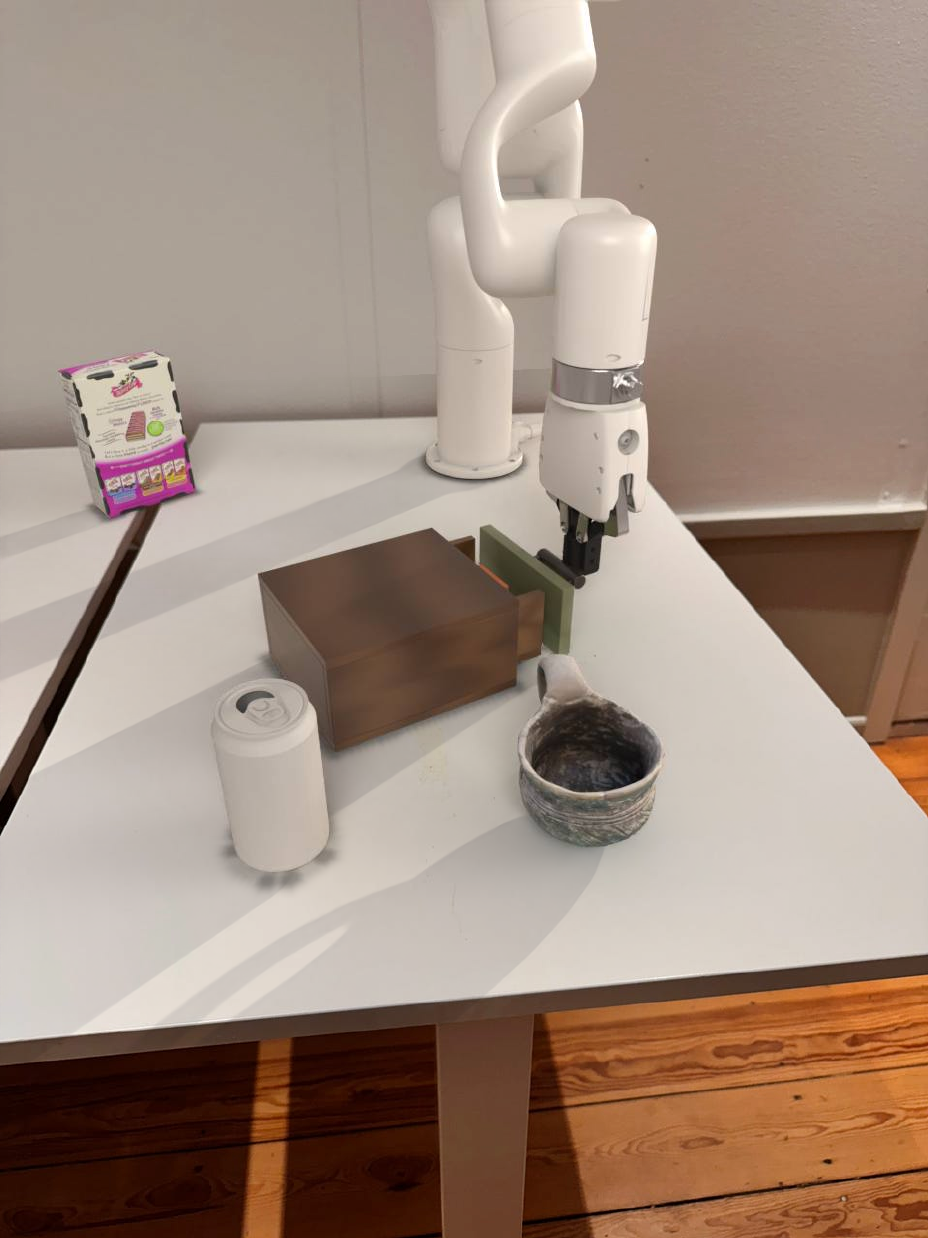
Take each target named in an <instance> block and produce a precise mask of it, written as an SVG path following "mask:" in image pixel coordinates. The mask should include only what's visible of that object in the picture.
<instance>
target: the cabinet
mask: <svg viewBox="0 0 928 1238" xmlns="http://www.w3.org/2000/svg"><path fill="white" fill-rule="evenodd" d="M449 541H450V540H447V539H446V538H445V537H444V536H443V535H441V533H439V532H438V531H437V530H436V529H434V528H433V527H428V528H425V529H421V530H417V531H413V532H409V533H406V534H402V535H398V536H394V537H391V538H387V539H383V540H379V541H376V542H372V543H367V544H365V545H360V546H356V547H353V548H349V549H346V550H341V551H338V552H337V551H336V552H334V553H330V554H326V555H323V556H318V557H314V558H312V559H307V560H304V561H300V562H296V563H293V564H292V563H291V564H288V565H285V566H284V565H283V566H281V567H277V568H273V569H269V570H265V571H261V572H258V573H257V579H258V584H259V586H258V587H259V592H260V597H261V605H262V606H261V607H262V611H263V619H264V625H265V633H266V639H267V643H268V644H267V646H268V652H269V657H270V659H271V661H272V662H273V664H274V665H275V666H276V668H277V669H278V671H279V672H280V674H281V676H282V677H283V678H284V680H287V681H290V682H292V683H295V684H297V685H298V686H300V687H301V688H302V689H303V690H304V691H305V692H306V694H307V696H308V701H309V702H310V703H311V704H312V706H313V707H314V709H315V711H316V716H317V725H318V730H320V732H321V733H322V734H323V736H324V737H325V739H326V740H327V742H328V743H329V745H330V746H331V748H332V750H333V751H334V752H335V753H337V752H339V751H342V750H346V749H348V748H351V747H353V746H356V745H358V744H359V745H360V744H362V743H364V742H367V741H369V740H373V739H375V738H377V737H381V736H383V735H387V734H389V733H392V732H394V731H397V730H400V729H402V728H406V727H408V726H410V725H413V724H416V723H419V722H421V721H424V720H427V719H429V718H433V717H435V716H438V715H441V714H443V713H446V712H448V711H451V710H454V709H457V708H459V707H463V706H465V705H467V704H470V703H473V702H476V701H478V700H481V699H484V698H486V697H490V696H492V695H494V694H497V693H500V692H503V691H505V690H508V689H512V688H514V687H516V686H517V674H518V672H517V671H518V663H517V649H518V624H519V603H520V600H519V599H518V598H517V597H515V596H514V595H513V594H512V593H511V592H509V591H508V590H507V589H506V588H505V587H503V586H502V585H501V584H500V583H499V582H497V581H496V580H495V579H494V578H492V577H491V576H490V575H489V574H488V573H486V572H485V571H484V570H483V569H482V568H480V567H479V566H478V565H479V564H477V563H476V562H475V563H474V562H473V561H472V560H471V559H469V558H468V557H467V556H466V555H465V554H463V553H462V552H461V551H460V550H459V549H457V548H456V547H455V546H454V545H453V544H451V543H450V542H449Z"/></svg>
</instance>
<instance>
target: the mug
mask: <svg viewBox="0 0 928 1238" xmlns="http://www.w3.org/2000/svg"><path fill="white" fill-rule="evenodd" d="M536 681H537V689H538V696H539V701H540V707H539V709H538V710H537V711H536V712H535V713H534V714H533V715H532V717H530V718H529V719H528V720H527V722H526V723H525V724H524V725H523V726H522V728H521V730H520V732H519V734H518V736H517V755H518V760H519V763H520V765H519V771H518V785H519V790H520V796H521V801H522V803H523V805H524V808H525V810H526V812H527V813H528V814H529V815H530V817H531V818H532V820H533V821H534V822H535V823H536V824H537V825H538V826H539V827H540V828H541V829H542V830H544V831H545V832H546V833H547V834H549V835H550V836H552V837H553V838H556V839H558V840H560V841H563V842H565V843H569V844H572V845H574V846H579V847H584V848H601V847H607V846H610V845H614V844H618V843H621V842H623V841H625V840H629V839H630V838H631V837H633V836H635V835H636V834H637V833H638V832H639V831H640V830H641V829H642V828H643V827H644V826H645V824H646V823H647V822H648V820H649V819H650V816H651V814H652V811H653V809H654V805H655V801H656V795H657V793H656V787H657V785H656V779H657V778H658V775H659V773H660V771H661V769H662V767H663V765H664V758H665V756H666V747H665V744H664V742H663V740H662V738H661V737H660V735H659V733H658V732H657V731H656V730H655V729H654V728H653V727H652V726H651V725H650V724H648V723H646V722H644V721H642V720H641V718H640V717H639V716H638V715H636V714H635V713H634V712H632V710H630V709H629V708H627V707H625V706H624V705H622V704H620V703H619V702H617V701H615V700H612V699H610V698H609V697H606V696H603V695H601V694H599V693H597V692H596V691H595V690H593V689H592V688H591V687H590V686H589V684H588V683H587V682H586V680H585V678H584V675H583V674H582V672H581V670H580V667H579V665H578V663H577V662H576V660H575V659H574V658H573V657H572V656H570V655H568V654H554V653H553V654H549V655H547V656H545V657H542V658H541V659H540V660H539V662H538V663H537V669H536Z"/></svg>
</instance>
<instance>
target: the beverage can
mask: <svg viewBox="0 0 928 1238" xmlns="http://www.w3.org/2000/svg"><path fill="white" fill-rule="evenodd" d="M213 716H214V718H213V720H212V722H211V726H210V734H211V741H212V745H213V750H214V755H215V759H216V764H217V768H218V774H219V780H220V784H221V789H222V794H223V798H224V803H225V808H226V813H227V818H228V822H229V827H230V833H231V837H232V838H231V839H232V843H233V848H234V850H235V853H236V854H237V857H238V858H239V859H240V861H242V862H243V863H244V864H245V865H247V866H248V867H250V868H252V869H255V870H258V871H260V872H266V873H267V872H268V873H282V872H287V871H291V870H295V869H298V868H300V867H302V866H305V865H306V864H309V862H312V860H314V859H315V858H316V857H317V856H318V855H319V854H320V853H321V852H322V851H323V850H324V848H325V847H326V844H327V842H328V840H329V837H330V821H329V813H328V805H327V797H326V796H327V794H326V786H325V778H324V769H323V761H322V760H323V759H322V751H321V742H320V734H319V727H318V725H317V716H316V711H315V709H314V707H313V706H312V704H311V703H310V702H309V701H308V696H307V694H306V692H305V691H304V690H303V689H302V688H301V687H300V686H298V685H297V684H295V683H292V682H290V681H287V680H286V679H282V678H271V677H270V678H259V679H252V680H249V681H245V682H243V683H241V684H238V685H236V686H234V687H232V688H231V689H229V690H228V691H226V692H225V693H224V694H223V695H221V697H220V698H219V699H218V701H217V702H216V704H215V707H214V709H213Z"/></svg>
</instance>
